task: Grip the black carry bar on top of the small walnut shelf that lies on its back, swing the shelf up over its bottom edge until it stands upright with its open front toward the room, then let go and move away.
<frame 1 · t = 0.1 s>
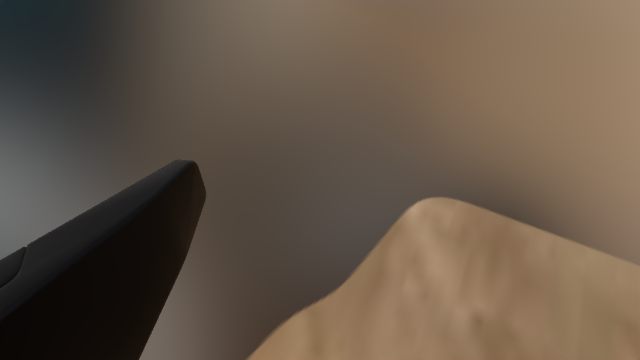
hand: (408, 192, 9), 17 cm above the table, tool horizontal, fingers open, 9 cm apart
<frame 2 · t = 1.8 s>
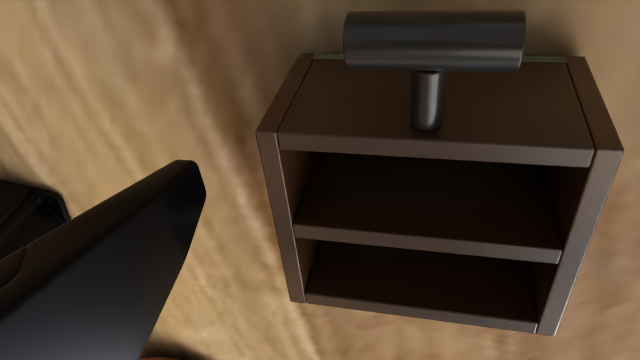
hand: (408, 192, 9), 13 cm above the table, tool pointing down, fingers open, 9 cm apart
shelf: (425, 155, 20), point 4 cm above the table, hinge at 0.0°
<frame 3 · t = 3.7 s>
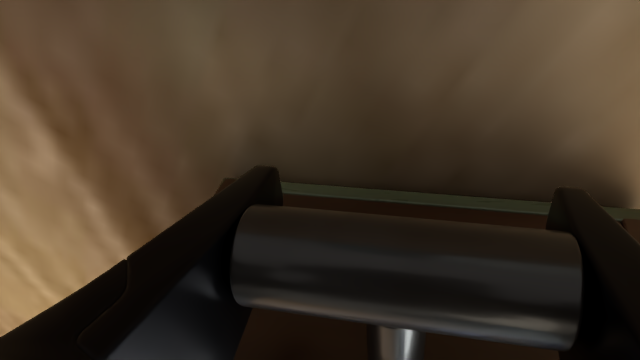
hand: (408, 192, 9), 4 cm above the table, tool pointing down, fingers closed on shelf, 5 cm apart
shelf: (403, 350, 13), point 4 cm above the table, hinge at 0.0°, touching gripper
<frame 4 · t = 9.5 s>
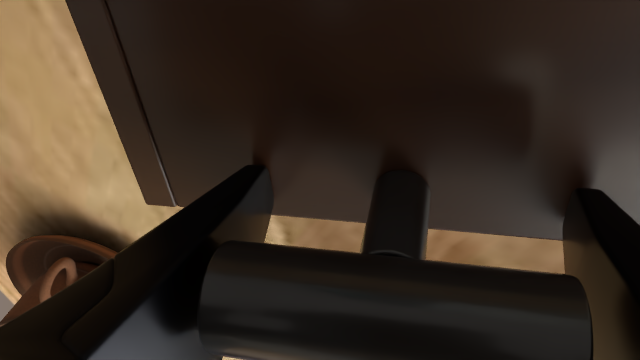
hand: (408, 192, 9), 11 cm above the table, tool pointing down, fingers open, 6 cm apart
cup and saucer: (107, 276, 35), on the table
shelf: (416, 22, 10), point 7 cm above the table, hinge at 87.8°, touching gripper
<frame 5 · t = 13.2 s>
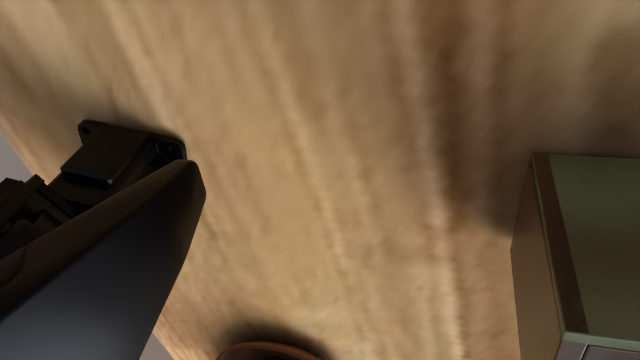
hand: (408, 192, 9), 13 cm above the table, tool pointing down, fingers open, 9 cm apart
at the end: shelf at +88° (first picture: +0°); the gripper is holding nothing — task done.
